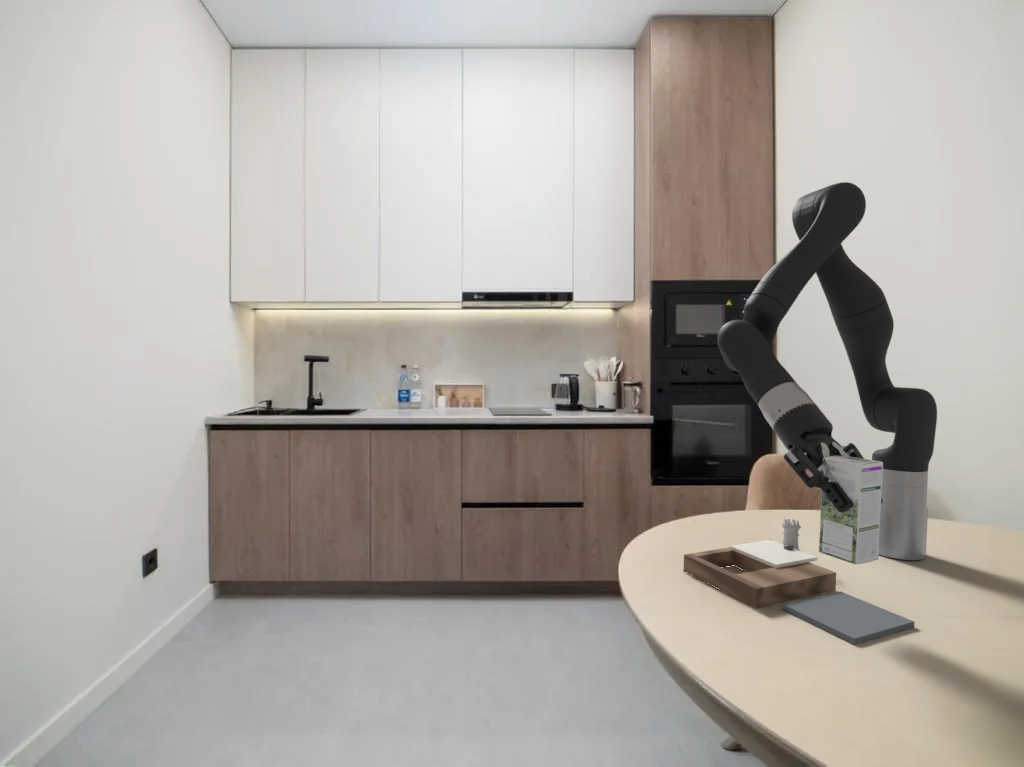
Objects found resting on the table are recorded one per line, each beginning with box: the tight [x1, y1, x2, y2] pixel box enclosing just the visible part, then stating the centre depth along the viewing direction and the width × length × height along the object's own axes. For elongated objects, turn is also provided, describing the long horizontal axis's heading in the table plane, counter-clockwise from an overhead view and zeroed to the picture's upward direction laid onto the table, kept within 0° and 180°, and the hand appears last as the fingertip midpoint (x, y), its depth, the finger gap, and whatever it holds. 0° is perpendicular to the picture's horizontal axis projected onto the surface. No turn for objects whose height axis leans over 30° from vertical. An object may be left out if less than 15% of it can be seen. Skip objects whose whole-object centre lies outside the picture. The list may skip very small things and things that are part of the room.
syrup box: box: [818, 455, 883, 565], centre depth 80 cm, size 6×6×14 cm
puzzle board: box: [683, 546, 837, 609], centre depth 94 cm, size 18×16×3 cm
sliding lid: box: [729, 539, 818, 568], centre depth 98 cm, size 10×10×1 cm
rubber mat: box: [783, 591, 915, 645], centre depth 80 cm, size 13×11×1 cm
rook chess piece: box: [781, 518, 802, 551], centre depth 103 cm, size 4×4×8 cm
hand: (862, 507), depth 78 cm, fingers closed on syrup box, 6 cm apart
